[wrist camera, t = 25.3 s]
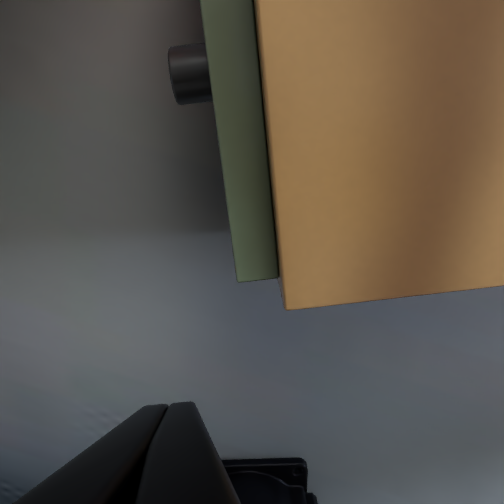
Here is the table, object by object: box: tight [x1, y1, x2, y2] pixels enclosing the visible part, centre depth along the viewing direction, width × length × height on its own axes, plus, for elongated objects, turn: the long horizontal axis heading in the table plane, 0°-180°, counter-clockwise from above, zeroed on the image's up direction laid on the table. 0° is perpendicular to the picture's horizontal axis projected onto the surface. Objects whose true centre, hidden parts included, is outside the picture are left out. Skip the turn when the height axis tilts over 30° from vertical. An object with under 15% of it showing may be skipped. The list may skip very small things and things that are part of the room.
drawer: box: [168, 0, 279, 283], centre depth 13 cm, size 20×11×6 cm, turn 96°
